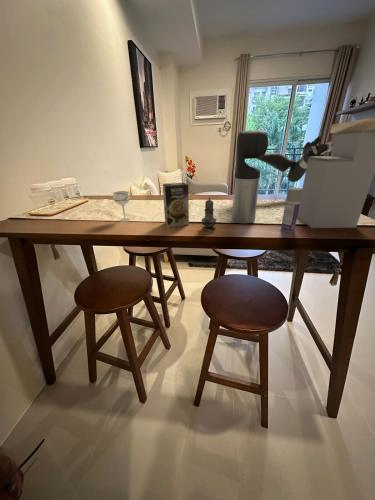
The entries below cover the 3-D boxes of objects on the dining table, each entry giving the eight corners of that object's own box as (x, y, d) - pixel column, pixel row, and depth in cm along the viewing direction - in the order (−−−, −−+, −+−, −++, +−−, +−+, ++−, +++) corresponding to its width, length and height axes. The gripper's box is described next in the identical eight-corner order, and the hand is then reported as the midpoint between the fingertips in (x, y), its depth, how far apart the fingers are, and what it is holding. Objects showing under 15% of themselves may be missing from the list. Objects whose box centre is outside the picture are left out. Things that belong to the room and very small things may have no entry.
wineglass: (127, 222, 92) (122, 194, 86) (114, 221, 94) (109, 194, 88) (135, 218, 97) (132, 191, 92) (123, 217, 99) (118, 190, 94)
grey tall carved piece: (215, 231, 79) (216, 199, 74) (200, 231, 80) (200, 199, 75) (217, 226, 84) (218, 196, 79) (202, 225, 86) (202, 195, 80)
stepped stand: (311, 227, 80) (335, 130, 66) (296, 216, 93) (313, 132, 78) (355, 227, 79) (389, 128, 65) (334, 216, 92) (359, 131, 77)
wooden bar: (373, 129, 63) (377, 117, 62) (330, 133, 85) (332, 124, 84) (388, 128, 63) (392, 116, 62) (340, 132, 85) (342, 124, 83)
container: (290, 227, 81) (298, 187, 74) (296, 232, 77) (305, 189, 70) (278, 228, 81) (285, 187, 74) (284, 232, 77) (291, 190, 70)
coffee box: (167, 227, 85) (164, 186, 78) (164, 222, 90) (161, 183, 83) (189, 225, 87) (188, 184, 80) (185, 220, 92) (184, 181, 85)
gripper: (295, 150, 105) (312, 129, 88) (325, 149, 104) (348, 128, 87) (295, 165, 104) (313, 147, 88) (326, 164, 103) (349, 146, 87)
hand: (330, 137), depth 88 cm, fingers open, 8 cm apart
